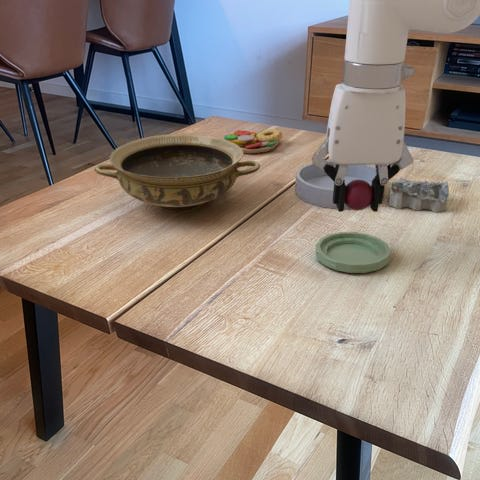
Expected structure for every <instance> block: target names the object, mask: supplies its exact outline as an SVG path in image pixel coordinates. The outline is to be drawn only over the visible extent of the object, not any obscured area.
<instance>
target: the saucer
mask: <svg viewBox="0 0 480 480" xmlns="http://www.w3.org/2000/svg"><path fill="white" fill-rule="evenodd" d="M391 252H392V250H391V248H390V246H389V244H388V243H387V242H386V241H384V239H381V238H380V237H378V236H374V235H371V234H369V233H365V232H364V233H363V232H357V231H339V232H335V233H329V234H327V235H325V236H323V237H321V238H320V239H319V240H318V241H317V242H316V244H315V256H316V260H317V261H319V263H321V264H322V265H323V266H325V267H327V268H330V269H333V270H335V271H339V272H343V273H349V274H359V273H360V274H365V273H370V272H374V271H375V272H376V271H379V270H381V269H382V268H384V267H386V266H387V265H388V263H389V261H390V258H391Z"/></svg>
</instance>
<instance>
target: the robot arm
mask: <svg viewBox="0 0 480 480" xmlns="http://www.w3.org/2000/svg"><path fill="white" fill-rule="evenodd" d="M348 6H349V7H348V13H347V14H348V15H347V24H346V25H347V26H346V38H345V48H344V60H343V70H342V81H341V83H338V84H336V85H335V87H334V91H333V95H332V97H331V98H332V99H331V102H330V109H329V116H328V121H327V128H326V136H325V139H324V140H323V142H322V143H321V144H320V146H319V147H318V148H317V150H316V151H315V152H314V153H313V155H312V156H311V163H313V164H314V165H316V166H317V167H319V168H320V169H321V170H323V171H324V172H325V173H326V174H327V175H328V176H329V177H330V178H331V179H332V180H333V181H334V190H333V204H336V206H337V208H338V209H337V211H338V212H339V213H342V212H344V211H345V209H344V204H345V195H346V185H345V180H344V178H345V175H346V172H347V169H348V166H349V165H372V166H374V167H375V168H376V176H375V178H373V180H372V184H371V187H372V189H373V199H372V202H371V203H370V206H369V208H370V209H371V211H372V212H373V213H374V212H378V211H379V205H382V204H383V201H384V198H383V194H384V187H385V185H386V186H387V184H388V183H389V181H390V180H392V178H394V177H395V176H396V175H397V174H398V173H399V172H400V171H401V170H404V169H405V168H407V167H408V166H410V165H412V164H413V163H414V158H413V155H412V154H411V152H410V150H409V148H408V146H407V145H406V142H405V129H406V128H405V127H406V108H407V107H406V102H407V101H406V87H405V86H404V85H403V82H404V81H405V79H408V78H413V76H414V74H415V66H414V65H409V64H406V61H405V58H406V52H407V44H408V37H409V31H411V30H412V31H422V32H430V33H436V34H452V33H457V32H459V31H461V30H464V29H466V28H468V27H469V26H470V25H472V24H473V23H474V22H475V21H476V20H477V19H478V18H479V16H480V0H349V3H348ZM327 156H328V158H329V160H327V159H326V157H327ZM328 161H331V162H333V163H335V167H334V166H333V165H332V164H331V163H330V162H328ZM384 195H385V194H384Z"/></svg>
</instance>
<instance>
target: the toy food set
mask: <svg viewBox="0 0 480 480" xmlns="http://www.w3.org/2000/svg"><path fill="white" fill-rule="evenodd" d="M223 139H224V140H227V141H230V142H232V143H234V144H236V145H238V146H239V147H240V148H241V149H242V151H243V154H261V152H262V153H266V152H269V151H272V150H273V149H275V147H276V146H277V145H278V144H279V141H281V140H282V139H283V132H282V130H280V129H277V128H269V129H265V130H262V131H259V132H258V133H256V132H254V131H249V130H242V129H240V130H239V129H238V130H236V131H234V132H232V133H230V134H226V135H224V136H223Z"/></svg>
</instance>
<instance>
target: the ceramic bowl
mask: <svg viewBox="0 0 480 480" xmlns="http://www.w3.org/2000/svg"><path fill="white" fill-rule="evenodd" d="M244 156H245V153H243V151H242V149H241V148H240V147H239V146H238V145H236V144H234V143H232V142H230V141H227V140H224V138H220V137H216V136H211V135H204V134H203V135H202V134H191V133H190V134H189V133H188V134H187V133H172V134H171V133H170V134H161V135H160V134H159V135H153V136H152V135H151V136H146V137H142V138H139V139H135V140H132V141H129V142H127V143H124V144H122V145H120V146H118V147H117V148H115V149H114V150H113V151H112V152H111V154H110V155H109V162H110V164H105V163H103V164H97V165H95V166H94V171H95V173H96V174H98V175H99V176H102V177H107V178H111V179H115V180H116V181H118V183H119V185H120V187H121V188H122V189H123V191H124V192H126V193H127V195H129V196H130V197H131V198H133V199H135V200H138V201H140V202H143V203H145V204H148V205H152V206H157V207H159V209H161V210H163V211H165V212H168V211H169V212H168V213H174V212H181V213H187V212H186V211H188V212H192V211H195V210H196V208H197V209H198V208H200V207H201V206H202V204H205V203H208V202H211V201H214V200H215V199H217V198H220V197H221V196H223V195H224V194H226V193H227V192H228V191H229V190H231V188H233V186H234V184H235V183H236V180H237V179H239V177H243V176H248V175H251V174H254V173H256V172H257V171H259V170H260V168H261V164H260V163H259V162H258V161H255V160H246V161H241V160H242V158H243V157H244ZM243 167H250V168H248V169H243V170H238V169H239V168H243ZM112 171H115V172H112ZM194 209H195V210H194ZM191 210H192V211H191Z"/></svg>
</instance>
